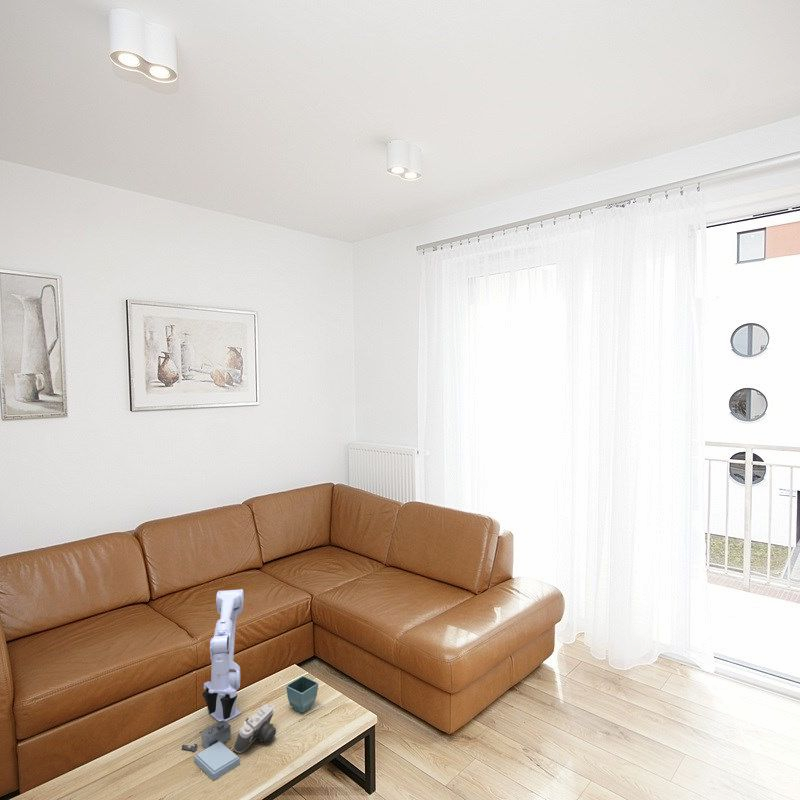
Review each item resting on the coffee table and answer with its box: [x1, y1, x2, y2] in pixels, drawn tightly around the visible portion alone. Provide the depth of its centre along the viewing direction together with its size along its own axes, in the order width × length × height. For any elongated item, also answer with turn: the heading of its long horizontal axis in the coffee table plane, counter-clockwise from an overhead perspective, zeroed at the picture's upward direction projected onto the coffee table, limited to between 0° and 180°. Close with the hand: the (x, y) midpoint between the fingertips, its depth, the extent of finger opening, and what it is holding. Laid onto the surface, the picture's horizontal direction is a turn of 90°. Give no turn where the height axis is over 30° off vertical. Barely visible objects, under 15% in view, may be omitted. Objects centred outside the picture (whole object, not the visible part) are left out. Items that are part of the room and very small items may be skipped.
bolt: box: [181, 743, 198, 752], centre depth 169 cm, size 5×2×2 cm, turn 79°
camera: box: [233, 703, 277, 754], centre depth 173 cm, size 9×16×10 cm, turn 156°
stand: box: [193, 741, 241, 781], centre depth 163 cm, size 12×9×2 cm
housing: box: [201, 720, 232, 750], centre depth 173 cm, size 4×8×6 cm, turn 139°
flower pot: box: [285, 675, 319, 714], centre depth 192 cm, size 9×9×9 cm
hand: (219, 715), depth 172 cm, fingers open, 7 cm apart
